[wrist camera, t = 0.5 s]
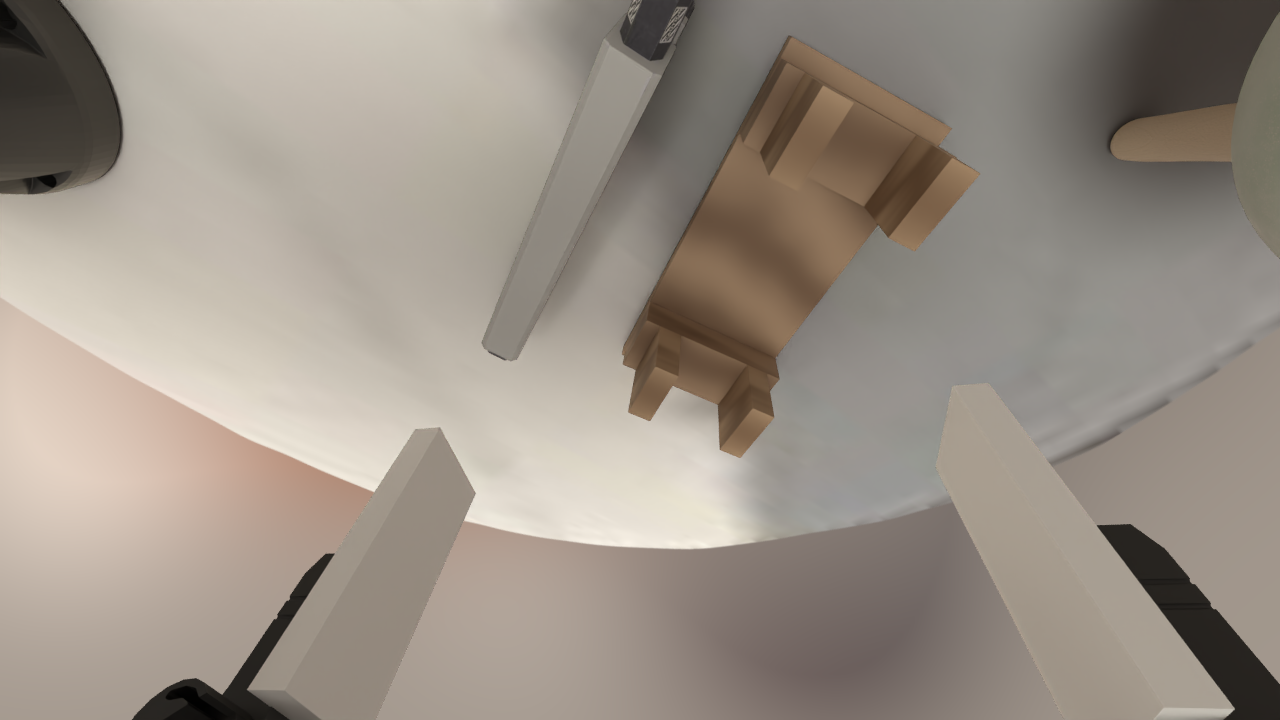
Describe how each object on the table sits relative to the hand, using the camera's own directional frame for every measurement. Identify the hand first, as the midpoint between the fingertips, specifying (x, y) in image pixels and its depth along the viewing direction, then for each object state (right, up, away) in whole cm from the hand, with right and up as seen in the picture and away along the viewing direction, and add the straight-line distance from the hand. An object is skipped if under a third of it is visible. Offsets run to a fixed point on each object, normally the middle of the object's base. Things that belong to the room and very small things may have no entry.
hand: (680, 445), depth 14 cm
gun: (-4, +14, +18) cm, 23 cm away
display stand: (+7, +9, +20) cm, 23 cm away
